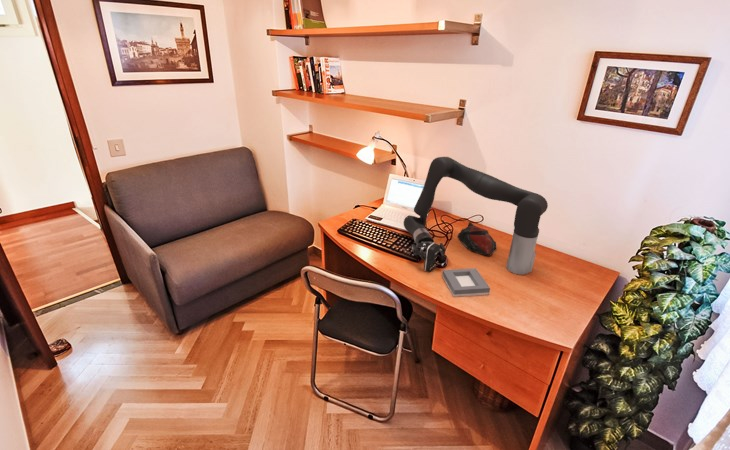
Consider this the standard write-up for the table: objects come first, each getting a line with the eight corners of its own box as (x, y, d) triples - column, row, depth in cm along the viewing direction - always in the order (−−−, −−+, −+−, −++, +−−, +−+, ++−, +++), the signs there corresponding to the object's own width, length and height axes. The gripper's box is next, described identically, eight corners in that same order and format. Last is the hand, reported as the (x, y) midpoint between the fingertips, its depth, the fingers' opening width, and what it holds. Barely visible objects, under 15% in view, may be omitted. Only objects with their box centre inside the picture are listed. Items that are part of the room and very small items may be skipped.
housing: (474, 274, 152) (475, 268, 151) (488, 294, 139) (490, 288, 138) (442, 276, 150) (442, 270, 149) (453, 296, 138) (454, 290, 137)
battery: (431, 273, 152) (433, 250, 147) (423, 270, 154) (425, 247, 149) (438, 266, 157) (441, 243, 152) (430, 263, 159) (433, 240, 154)
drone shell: (461, 231, 189) (463, 217, 186) (500, 239, 181) (503, 225, 178) (450, 248, 172) (452, 233, 169) (492, 258, 164) (495, 243, 161)
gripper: (408, 232, 163) (417, 250, 148) (439, 231, 164) (451, 249, 150) (407, 247, 166) (415, 266, 151) (437, 245, 168) (449, 264, 153)
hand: (433, 257), depth 151 cm, fingers closed on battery, 7 cm apart
